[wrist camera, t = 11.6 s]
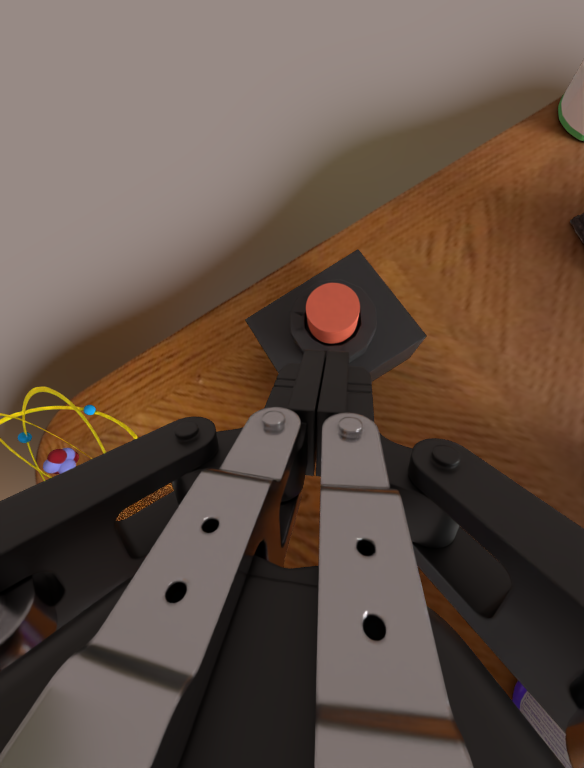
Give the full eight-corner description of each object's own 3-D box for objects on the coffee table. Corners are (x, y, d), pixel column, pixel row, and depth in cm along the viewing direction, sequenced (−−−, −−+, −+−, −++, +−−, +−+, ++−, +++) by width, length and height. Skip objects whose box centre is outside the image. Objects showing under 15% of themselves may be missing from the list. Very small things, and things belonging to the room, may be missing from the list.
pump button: (339, 289, 27) (340, 272, 25) (367, 326, 26) (371, 313, 24) (298, 315, 27) (295, 300, 25) (325, 353, 26) (324, 342, 24)
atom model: (67, 390, 37) (-47, 333, 24) (195, 420, 37) (150, 379, 23) (6, 517, 33) (-175, 533, 20) (151, 554, 32) (64, 596, 19)
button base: (353, 283, 35) (359, 235, 28) (409, 357, 33) (433, 327, 25) (259, 342, 35) (239, 310, 28) (308, 421, 33) (302, 410, 25)
